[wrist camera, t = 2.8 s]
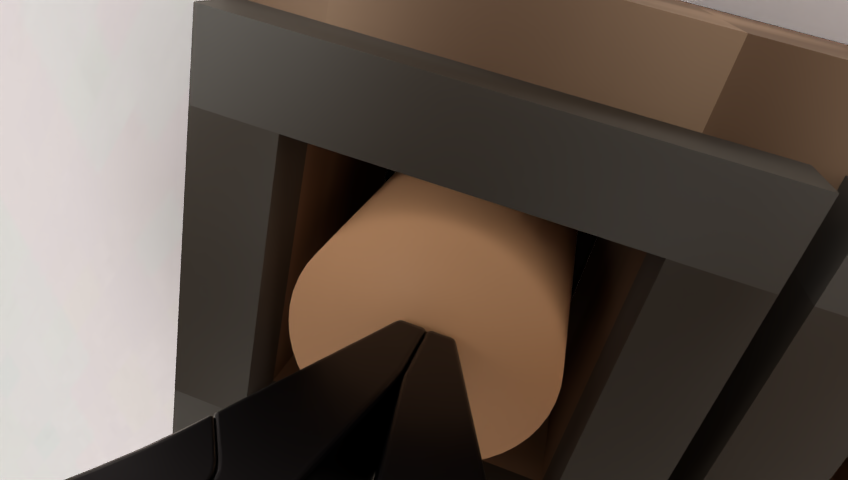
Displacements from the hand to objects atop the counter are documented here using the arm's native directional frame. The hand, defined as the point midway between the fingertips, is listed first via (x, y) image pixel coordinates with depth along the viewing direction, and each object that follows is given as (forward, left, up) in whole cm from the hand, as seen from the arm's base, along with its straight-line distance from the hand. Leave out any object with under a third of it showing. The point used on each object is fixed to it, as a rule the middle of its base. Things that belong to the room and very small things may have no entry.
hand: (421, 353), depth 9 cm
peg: (0, 0, -6) cm, 6 cm away
